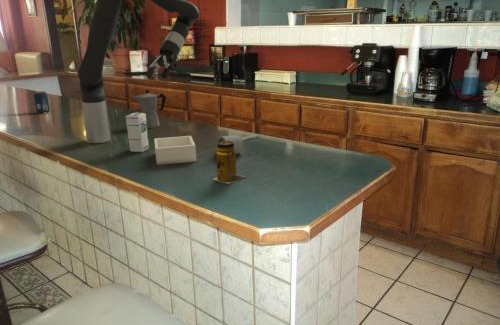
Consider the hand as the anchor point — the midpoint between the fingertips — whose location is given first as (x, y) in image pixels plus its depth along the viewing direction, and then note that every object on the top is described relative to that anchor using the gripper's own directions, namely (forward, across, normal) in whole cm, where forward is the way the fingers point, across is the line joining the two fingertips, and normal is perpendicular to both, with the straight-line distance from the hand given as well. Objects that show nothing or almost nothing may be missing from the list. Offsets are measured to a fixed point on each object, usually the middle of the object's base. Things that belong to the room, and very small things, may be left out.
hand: (155, 77), depth 158 cm
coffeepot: (+6, -27, +33) cm, 43 cm away
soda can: (+12, -107, +25) cm, 111 cm away
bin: (+28, +19, +11) cm, 35 cm away
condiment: (+33, +49, +6) cm, 59 cm away
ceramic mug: (+19, +33, +21) cm, 44 cm away
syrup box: (+28, 0, +10) cm, 30 cm away
